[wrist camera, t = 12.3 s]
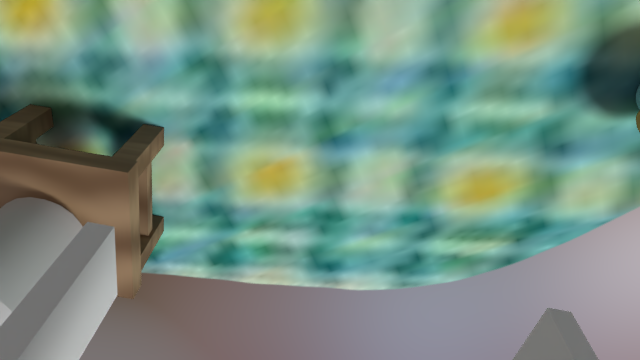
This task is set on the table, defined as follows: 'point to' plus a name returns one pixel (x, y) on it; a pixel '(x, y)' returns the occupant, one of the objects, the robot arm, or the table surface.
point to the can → (30, 245)
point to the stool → (87, 185)
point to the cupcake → (639, 103)
